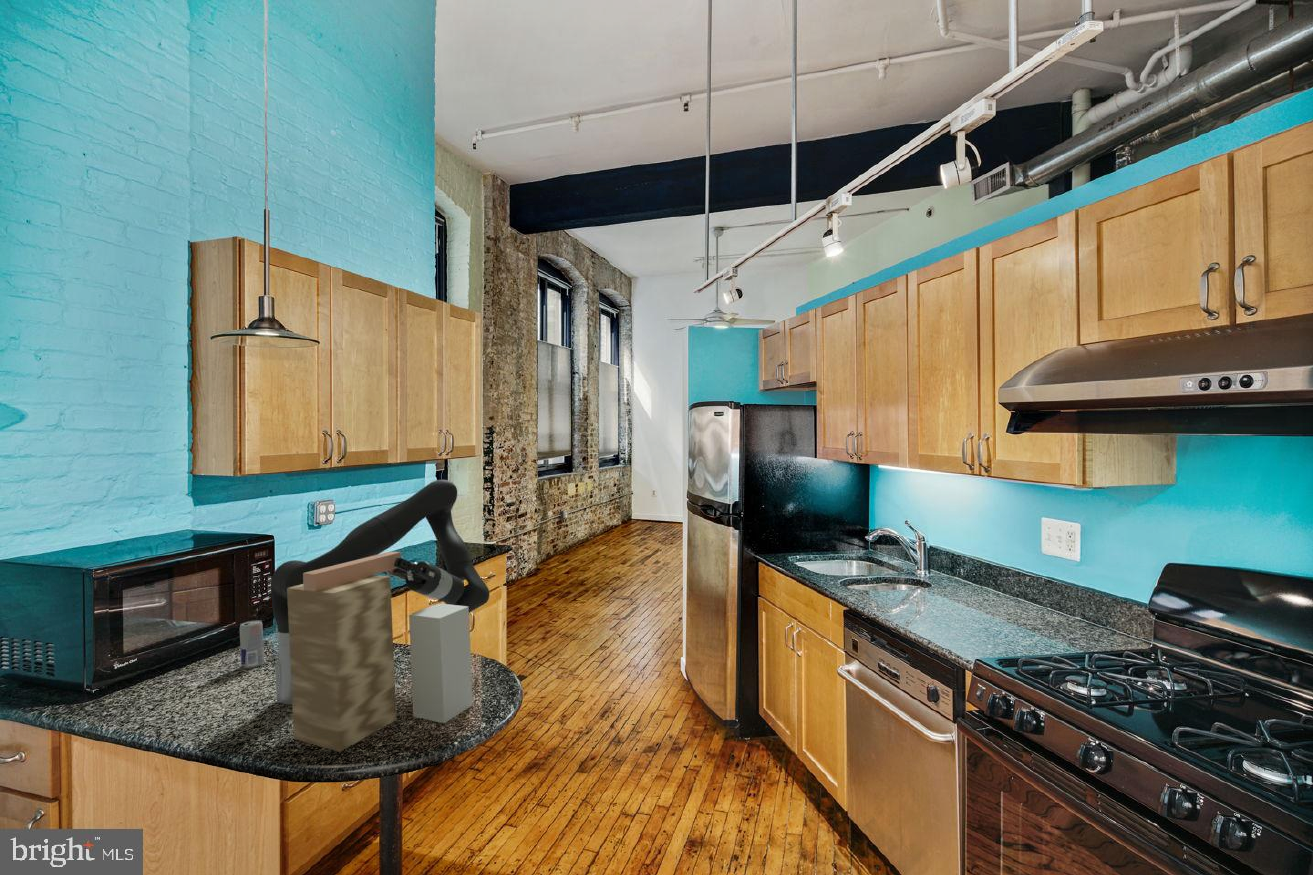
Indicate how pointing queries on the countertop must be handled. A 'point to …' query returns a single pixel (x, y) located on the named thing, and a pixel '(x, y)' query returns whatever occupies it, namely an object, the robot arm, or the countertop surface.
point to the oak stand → (341, 661)
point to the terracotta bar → (349, 571)
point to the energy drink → (251, 644)
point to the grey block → (440, 662)
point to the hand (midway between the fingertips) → (383, 560)
